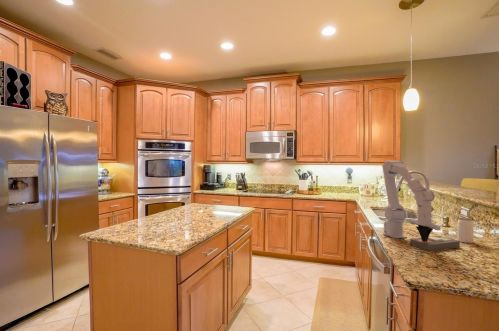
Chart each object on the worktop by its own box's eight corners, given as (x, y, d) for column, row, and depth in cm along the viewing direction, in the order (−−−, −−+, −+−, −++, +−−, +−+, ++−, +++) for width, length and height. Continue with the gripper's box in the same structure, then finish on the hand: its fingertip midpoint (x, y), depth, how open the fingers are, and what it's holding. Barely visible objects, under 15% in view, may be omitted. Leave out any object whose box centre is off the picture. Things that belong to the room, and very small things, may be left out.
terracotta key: (417, 243, 125) (417, 240, 125) (423, 242, 126) (423, 239, 126) (425, 246, 120) (425, 242, 120) (432, 245, 122) (432, 241, 122)
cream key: (426, 240, 126) (426, 237, 126) (433, 239, 127) (433, 236, 127) (435, 243, 122) (435, 239, 122) (442, 242, 123) (442, 238, 123)
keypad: (410, 244, 127) (410, 238, 127) (439, 241, 132) (439, 235, 132) (428, 251, 117) (428, 244, 117) (459, 247, 123) (459, 241, 123)
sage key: (436, 241, 128) (436, 237, 128) (442, 240, 129) (442, 237, 129) (445, 243, 124) (445, 240, 124) (451, 243, 125) (451, 239, 125)
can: (476, 243, 128) (476, 220, 128) (462, 243, 129) (462, 220, 129) (468, 240, 134) (468, 218, 134) (454, 239, 135) (454, 217, 135)
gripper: (445, 216, 117) (445, 244, 117) (417, 211, 131) (417, 236, 131) (433, 217, 115) (434, 246, 115) (406, 211, 129) (407, 237, 129)
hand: (424, 241), depth 123 cm, fingers closed, pressing on terracotta key
